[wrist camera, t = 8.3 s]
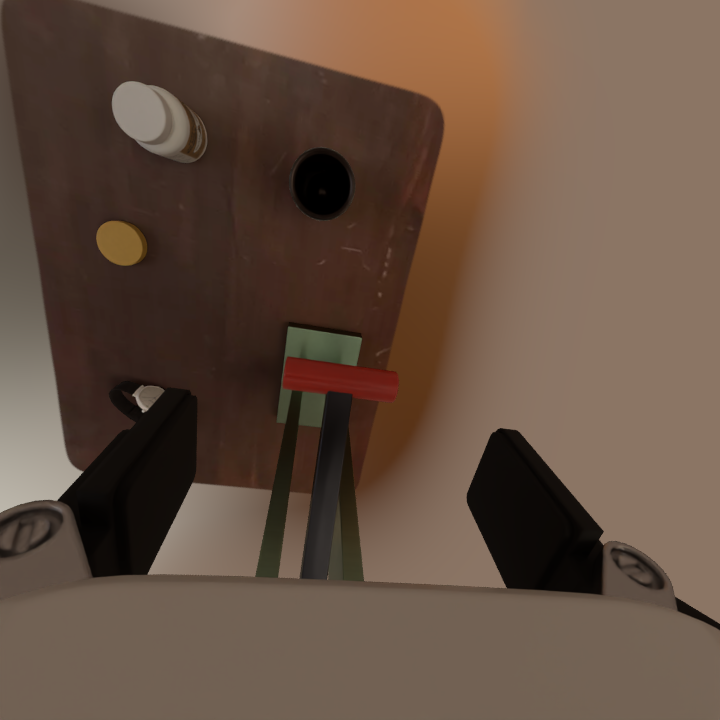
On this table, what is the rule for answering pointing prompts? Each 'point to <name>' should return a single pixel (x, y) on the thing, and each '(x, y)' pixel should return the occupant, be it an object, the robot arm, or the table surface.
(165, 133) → the pill bottle
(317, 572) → the lever
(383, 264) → the table surface
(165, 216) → the table surface
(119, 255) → the brass blank
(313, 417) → the hand press
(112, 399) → the watch
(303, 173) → the planter
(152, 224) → the table surface
